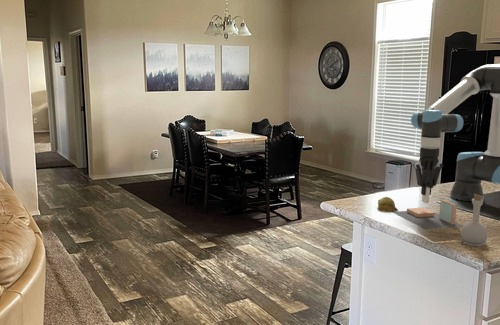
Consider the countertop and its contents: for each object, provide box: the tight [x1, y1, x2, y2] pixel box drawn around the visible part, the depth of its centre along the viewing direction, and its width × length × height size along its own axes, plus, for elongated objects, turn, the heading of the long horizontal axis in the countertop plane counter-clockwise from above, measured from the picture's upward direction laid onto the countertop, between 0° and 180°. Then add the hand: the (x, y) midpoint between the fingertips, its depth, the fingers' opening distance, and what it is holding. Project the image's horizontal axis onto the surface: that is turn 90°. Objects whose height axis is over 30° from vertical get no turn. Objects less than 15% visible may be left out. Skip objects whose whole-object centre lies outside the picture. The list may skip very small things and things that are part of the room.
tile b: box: [439, 199, 458, 224], centre depth 188 cm, size 2×8×8 cm, turn 14°
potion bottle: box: [459, 194, 488, 247], centre depth 164 cm, size 9×9×18 cm
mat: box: [392, 210, 464, 230], centre depth 192 cm, size 18×24×1 cm
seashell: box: [377, 196, 399, 213], centre depth 206 cm, size 10×7×8 cm
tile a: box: [406, 207, 436, 217], centre depth 198 cm, size 2×8×8 cm
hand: (425, 202), depth 198 cm, fingers closed
